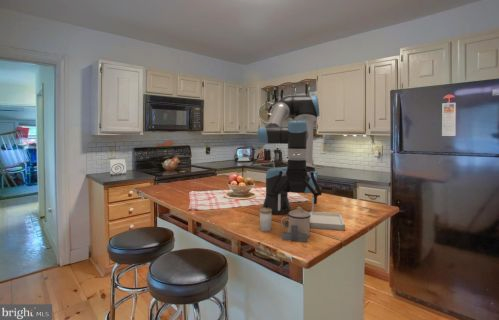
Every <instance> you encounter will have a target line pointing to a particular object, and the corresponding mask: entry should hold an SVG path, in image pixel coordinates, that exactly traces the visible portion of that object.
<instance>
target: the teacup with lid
mask: <svg viewBox="0 0 499 320" xmlns="http://www.w3.org/2000/svg"><path fill="white" fill-rule="evenodd" d="M310 216H311V215H310V211H306V210H304V208H302V206H296V209H293V210H291V211H290V212H289V213H287V216H286V215H285V216H283V217H281V219H280V223H281V225H282V227H283V228H284V229H287V232H290V233H291V225H296V226H298V233H303V234H308V236H307V238H308V237H309V236H310V229H311V228H310ZM284 219H288V221H289V226H285V222H284Z"/></svg>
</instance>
